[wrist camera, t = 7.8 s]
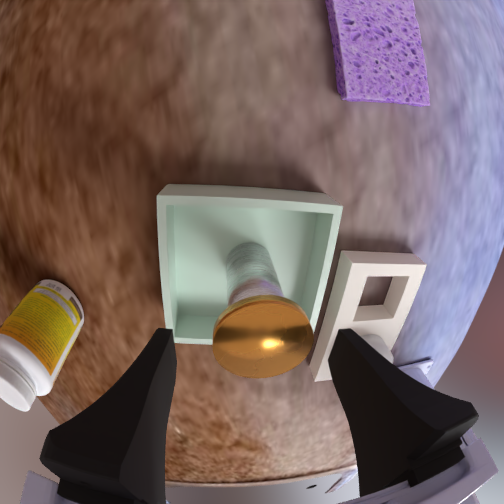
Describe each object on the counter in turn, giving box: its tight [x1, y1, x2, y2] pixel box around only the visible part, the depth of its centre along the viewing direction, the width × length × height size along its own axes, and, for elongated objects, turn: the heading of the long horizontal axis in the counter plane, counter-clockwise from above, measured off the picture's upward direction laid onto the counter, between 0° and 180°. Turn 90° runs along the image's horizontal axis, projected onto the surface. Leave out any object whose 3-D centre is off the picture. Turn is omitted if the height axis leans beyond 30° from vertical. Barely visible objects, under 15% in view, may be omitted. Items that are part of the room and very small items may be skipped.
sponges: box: [325, 0, 430, 107], centre depth 12 cm, size 7×13×2 cm, turn 5°
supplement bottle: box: [0, 280, 84, 411], centre depth 15 cm, size 6×6×10 cm
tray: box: [157, 184, 343, 344], centre depth 18 cm, size 10×10×3 cm
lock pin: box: [212, 242, 314, 378], centre depth 15 cm, size 4×4×8 cm
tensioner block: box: [309, 250, 427, 382], centre depth 20 cm, size 12×7×5 cm, turn 175°
